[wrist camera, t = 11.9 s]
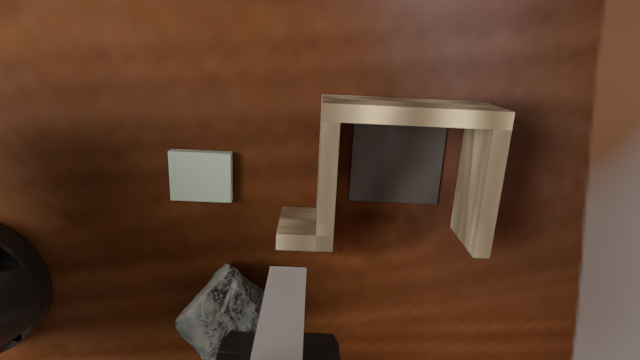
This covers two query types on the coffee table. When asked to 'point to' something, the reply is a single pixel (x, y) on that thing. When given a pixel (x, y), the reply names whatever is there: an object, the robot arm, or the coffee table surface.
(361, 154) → the wooden wall enclosure
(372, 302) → the coffee table surface
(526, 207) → the coffee table surface
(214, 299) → the stone
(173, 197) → the pad
